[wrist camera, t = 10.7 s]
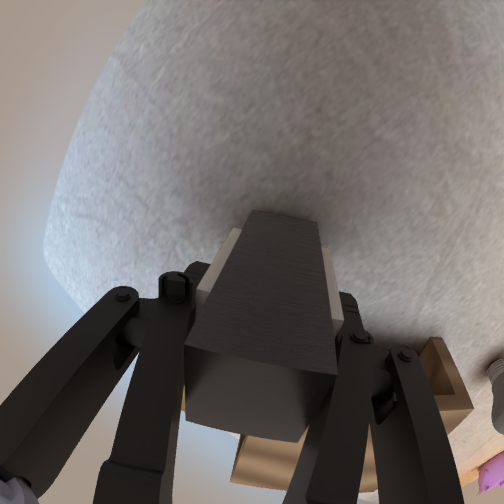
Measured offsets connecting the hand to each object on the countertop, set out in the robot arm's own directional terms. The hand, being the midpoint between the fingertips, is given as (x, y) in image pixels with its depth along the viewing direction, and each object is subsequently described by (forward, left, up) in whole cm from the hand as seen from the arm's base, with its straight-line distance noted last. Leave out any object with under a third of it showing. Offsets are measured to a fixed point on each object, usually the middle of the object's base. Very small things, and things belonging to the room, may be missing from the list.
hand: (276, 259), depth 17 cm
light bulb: (+9, +28, -4) cm, 30 cm away
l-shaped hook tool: (+9, 0, -2) cm, 9 cm away
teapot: (+42, +66, -4) cm, 78 cm away
